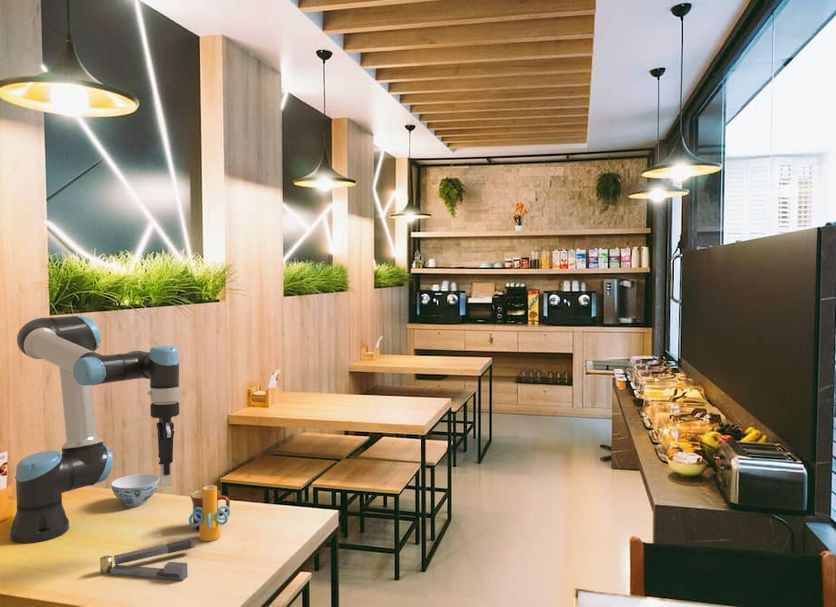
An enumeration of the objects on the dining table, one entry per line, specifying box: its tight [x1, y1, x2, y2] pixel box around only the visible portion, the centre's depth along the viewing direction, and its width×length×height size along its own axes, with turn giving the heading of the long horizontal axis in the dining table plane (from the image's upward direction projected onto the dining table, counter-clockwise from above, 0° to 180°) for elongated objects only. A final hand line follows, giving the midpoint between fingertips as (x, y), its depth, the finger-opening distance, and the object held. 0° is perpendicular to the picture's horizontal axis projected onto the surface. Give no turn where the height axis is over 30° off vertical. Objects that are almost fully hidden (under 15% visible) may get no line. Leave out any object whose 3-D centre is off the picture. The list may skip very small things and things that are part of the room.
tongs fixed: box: [99, 555, 188, 582], centre depth 161 cm, size 23×3×4 cm, turn 81°
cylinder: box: [188, 484, 231, 542], centre depth 185 cm, size 12×10×15 cm
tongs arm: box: [113, 538, 196, 566], centre depth 170 cm, size 20×3×2 cm, turn 123°
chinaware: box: [110, 473, 160, 508], centre depth 214 cm, size 15×15×8 cm
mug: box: [189, 489, 231, 530], centre depth 194 cm, size 12×9×10 cm
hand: (165, 485), depth 176 cm, fingers closed
